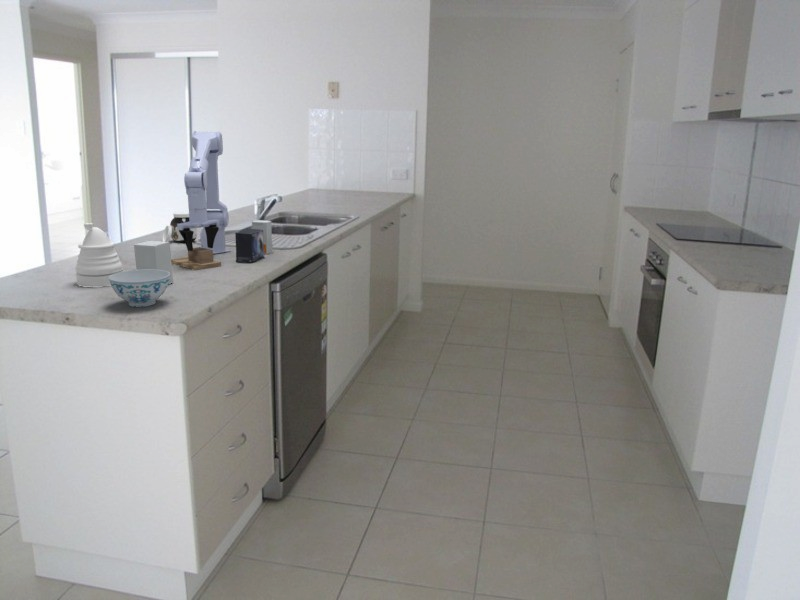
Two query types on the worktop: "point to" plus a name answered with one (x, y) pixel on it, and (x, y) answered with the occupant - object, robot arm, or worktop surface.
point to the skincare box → (264, 234)
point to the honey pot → (96, 259)
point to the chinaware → (140, 285)
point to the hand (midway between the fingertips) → (200, 249)
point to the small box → (249, 245)
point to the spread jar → (174, 232)
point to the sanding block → (200, 256)
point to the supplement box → (154, 256)
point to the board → (187, 264)
